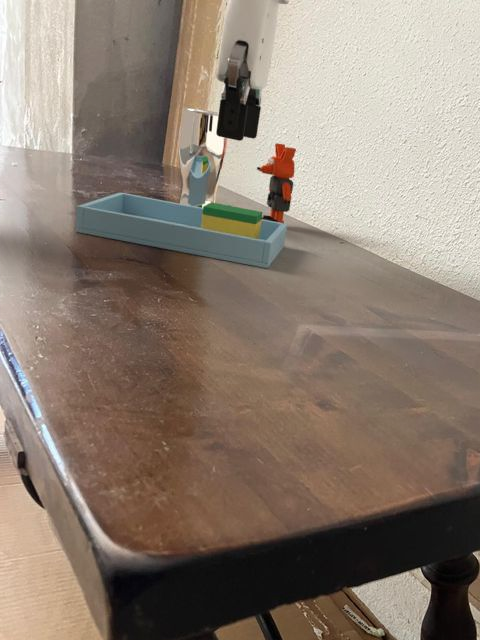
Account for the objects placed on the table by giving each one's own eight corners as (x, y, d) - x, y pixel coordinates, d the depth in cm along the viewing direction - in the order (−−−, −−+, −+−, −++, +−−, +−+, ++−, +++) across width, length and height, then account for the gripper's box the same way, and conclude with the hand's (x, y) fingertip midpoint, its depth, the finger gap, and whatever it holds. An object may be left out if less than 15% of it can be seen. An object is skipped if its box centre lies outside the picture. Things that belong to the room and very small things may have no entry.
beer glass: (185, 221, 108) (196, 111, 102) (164, 211, 113) (173, 105, 107) (227, 224, 112) (239, 117, 106) (205, 213, 117) (216, 111, 111)
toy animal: (243, 217, 120) (253, 138, 115) (274, 220, 122) (285, 144, 117) (258, 228, 113) (269, 145, 109) (291, 231, 116) (303, 150, 111)
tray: (75, 232, 90) (76, 205, 89) (118, 215, 104) (120, 192, 103) (267, 268, 90) (271, 242, 88) (284, 246, 104) (287, 224, 103)
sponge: (199, 237, 96) (203, 206, 95) (207, 232, 101) (210, 202, 99) (253, 247, 96) (257, 216, 95) (258, 242, 100) (262, 211, 99)
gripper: (240, -13, 94) (221, 130, 101) (210, -39, 78) (191, 132, 85) (298, -1, 94) (275, 141, 101) (280, -24, 78) (255, 146, 85)
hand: (237, 137), depth 93 cm, fingers open, 9 cm apart
